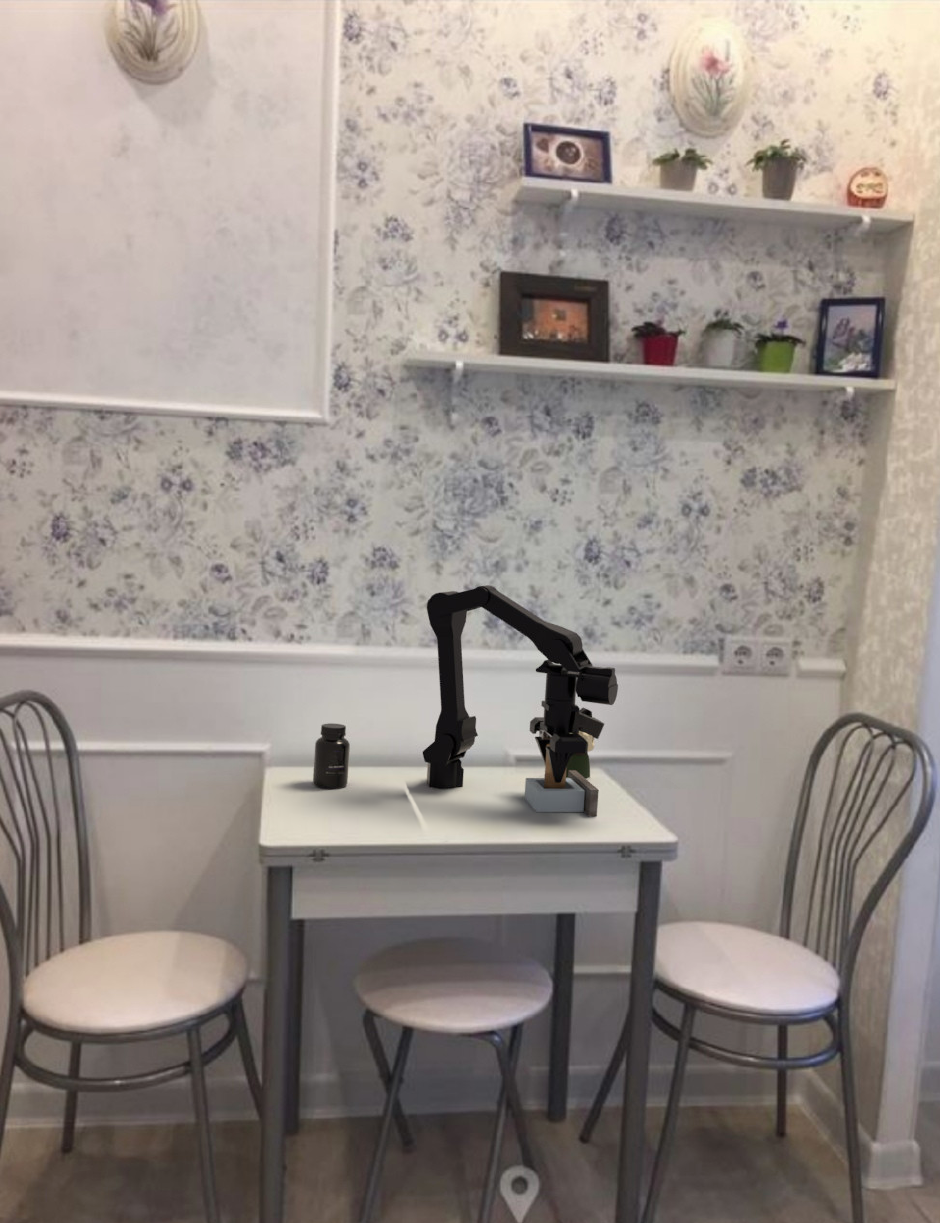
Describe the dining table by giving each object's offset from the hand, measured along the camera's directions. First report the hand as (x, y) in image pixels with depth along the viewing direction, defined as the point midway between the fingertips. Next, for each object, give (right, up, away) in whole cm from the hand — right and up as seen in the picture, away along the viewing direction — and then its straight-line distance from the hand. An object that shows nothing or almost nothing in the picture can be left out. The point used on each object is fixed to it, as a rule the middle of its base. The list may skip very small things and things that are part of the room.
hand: (554, 779), depth 194 cm
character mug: (+6, -4, +24) cm, 26 cm away
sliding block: (0, -5, +1) cm, 5 cm away
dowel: (0, -4, 0) cm, 4 cm away
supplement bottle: (-44, -3, +10) cm, 45 cm away
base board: (-3, -6, 0) cm, 7 cm away
